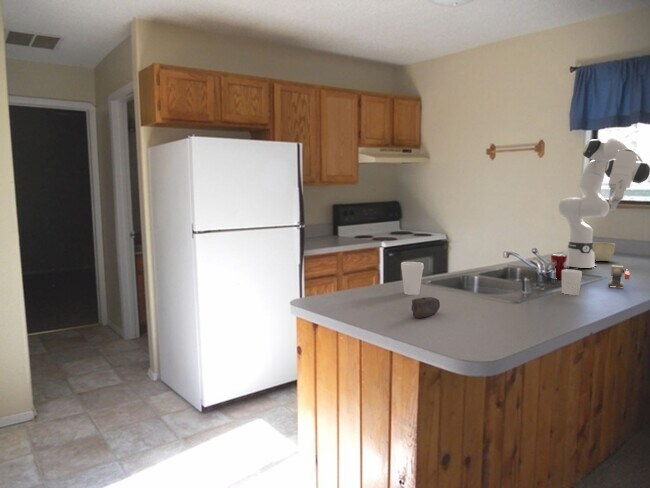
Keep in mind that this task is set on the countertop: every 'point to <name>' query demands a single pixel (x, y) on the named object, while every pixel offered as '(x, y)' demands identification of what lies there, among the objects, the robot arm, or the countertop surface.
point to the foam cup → (412, 277)
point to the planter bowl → (603, 250)
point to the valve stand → (616, 276)
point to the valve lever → (627, 274)
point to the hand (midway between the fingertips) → (612, 211)
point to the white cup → (571, 281)
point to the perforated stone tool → (425, 306)
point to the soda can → (559, 264)
